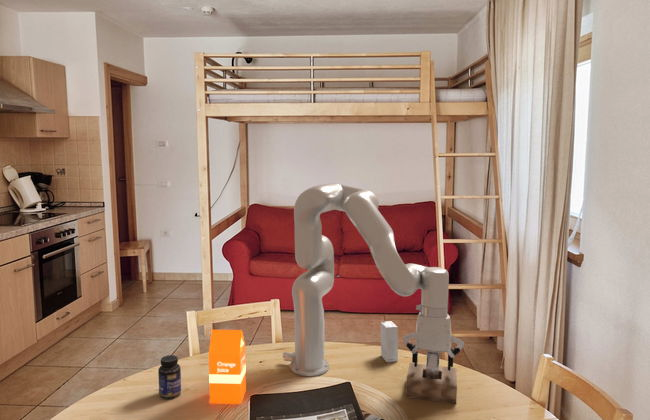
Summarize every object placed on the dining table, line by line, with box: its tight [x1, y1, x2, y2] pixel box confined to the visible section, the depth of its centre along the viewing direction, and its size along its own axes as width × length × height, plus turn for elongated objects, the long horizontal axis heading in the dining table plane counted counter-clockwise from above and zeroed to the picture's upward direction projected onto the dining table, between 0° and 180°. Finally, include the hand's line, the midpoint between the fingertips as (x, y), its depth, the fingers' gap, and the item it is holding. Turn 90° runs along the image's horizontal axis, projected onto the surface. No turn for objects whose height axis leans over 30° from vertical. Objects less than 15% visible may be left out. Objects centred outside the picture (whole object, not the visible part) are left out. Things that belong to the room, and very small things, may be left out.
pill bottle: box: [157, 354, 182, 400], centre depth 141 cm, size 6×6×11 cm
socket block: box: [405, 362, 458, 405], centre depth 145 cm, size 14×12×5 cm
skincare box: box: [380, 320, 399, 363], centre depth 166 cm, size 6×4×12 cm
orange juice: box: [208, 329, 247, 405], centre depth 139 cm, size 8×9×20 cm
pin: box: [425, 350, 441, 379], centre depth 144 cm, size 4×4×11 cm
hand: (432, 366), depth 144 cm, fingers open, 9 cm apart
